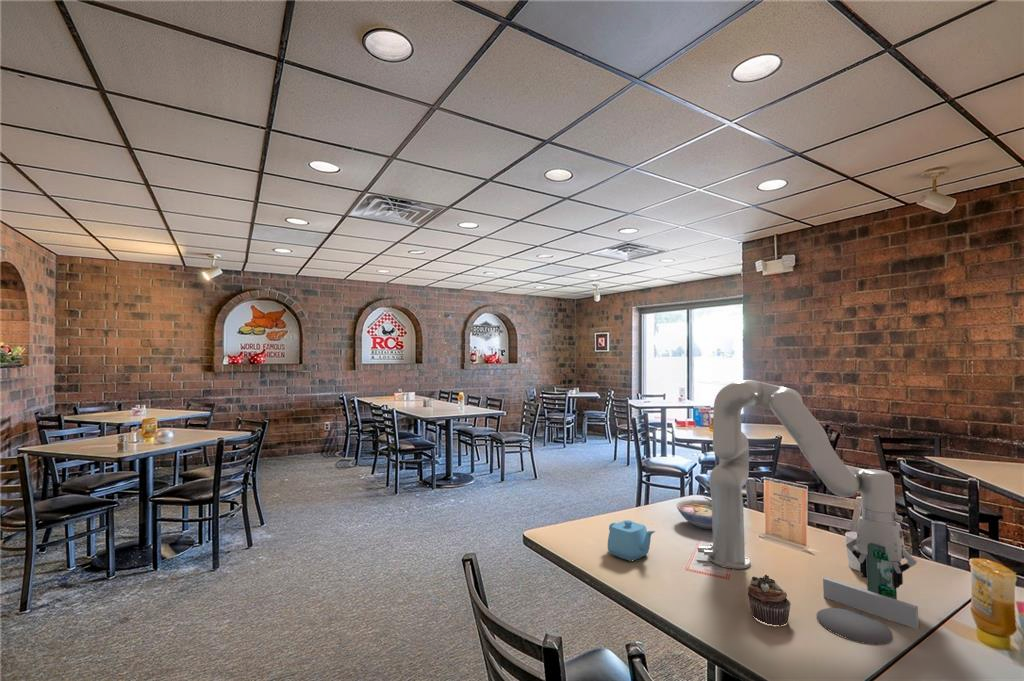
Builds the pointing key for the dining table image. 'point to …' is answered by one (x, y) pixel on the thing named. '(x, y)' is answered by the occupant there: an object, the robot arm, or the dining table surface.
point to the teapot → (628, 540)
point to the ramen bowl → (697, 512)
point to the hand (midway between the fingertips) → (881, 580)
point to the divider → (871, 602)
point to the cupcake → (768, 601)
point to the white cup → (851, 558)
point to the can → (880, 572)
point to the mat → (854, 625)
